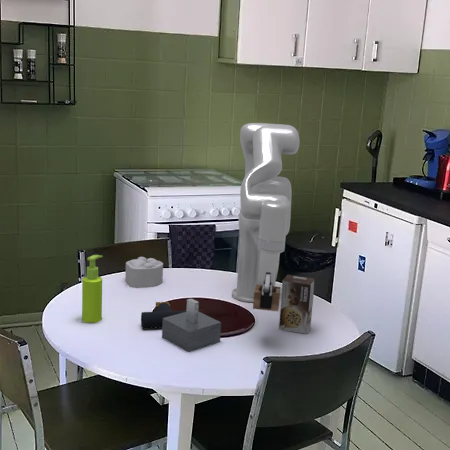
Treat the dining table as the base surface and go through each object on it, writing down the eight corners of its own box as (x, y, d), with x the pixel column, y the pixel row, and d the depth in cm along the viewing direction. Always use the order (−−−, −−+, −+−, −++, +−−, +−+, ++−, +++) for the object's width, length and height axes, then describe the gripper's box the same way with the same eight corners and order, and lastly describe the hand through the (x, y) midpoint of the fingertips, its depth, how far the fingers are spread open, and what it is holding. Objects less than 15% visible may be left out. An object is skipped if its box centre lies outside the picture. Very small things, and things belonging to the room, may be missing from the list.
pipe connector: (138, 300, 204) (185, 299, 208) (137, 316, 205) (184, 314, 209) (143, 315, 193) (193, 313, 197) (143, 332, 194) (192, 329, 198)
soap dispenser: (107, 317, 203) (108, 255, 198) (94, 324, 196) (94, 261, 191) (91, 313, 205) (92, 252, 200) (78, 320, 199) (78, 257, 194)
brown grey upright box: (311, 327, 205) (316, 278, 201) (306, 334, 199) (311, 284, 195) (282, 321, 208) (287, 273, 204) (277, 329, 202) (282, 279, 198)
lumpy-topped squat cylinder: (123, 279, 237) (123, 256, 235) (157, 276, 243) (158, 254, 241) (131, 289, 228) (132, 265, 226) (166, 285, 234) (167, 262, 232)
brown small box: (254, 300, 192) (256, 284, 191) (279, 302, 192) (280, 287, 190) (252, 308, 186) (254, 292, 185) (278, 311, 186) (279, 295, 184)
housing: (193, 327, 198) (195, 290, 196) (219, 341, 190) (222, 302, 187) (161, 337, 190) (163, 298, 188) (188, 352, 182) (190, 311, 179)
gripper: (260, 234, 193) (256, 291, 197) (255, 252, 176) (250, 313, 181) (286, 237, 192) (280, 293, 197) (283, 255, 175) (277, 316, 180)
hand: (266, 302), depth 189 cm, fingers closed on brown small box, 6 cm apart
